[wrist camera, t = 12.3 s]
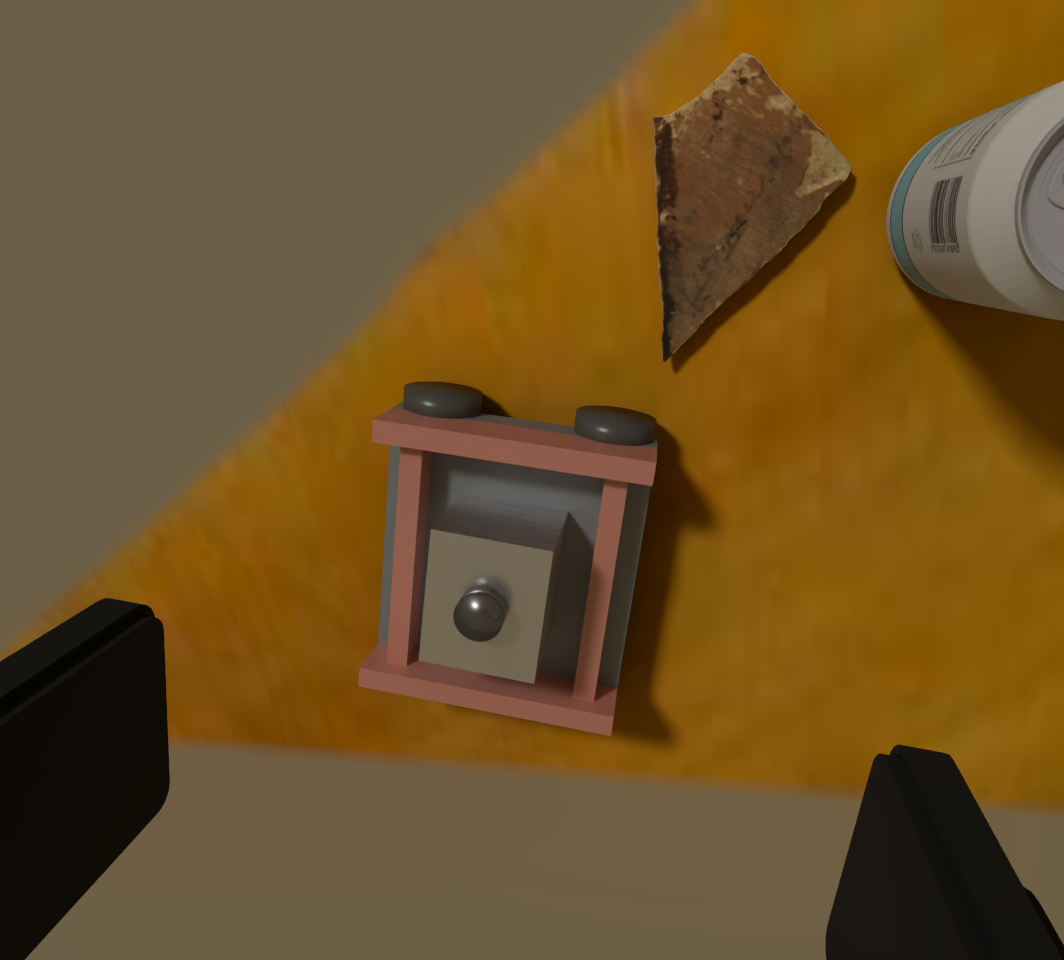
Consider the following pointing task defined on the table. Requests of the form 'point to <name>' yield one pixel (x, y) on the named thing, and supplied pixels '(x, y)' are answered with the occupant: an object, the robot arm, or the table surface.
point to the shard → (732, 190)
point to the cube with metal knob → (492, 586)
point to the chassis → (527, 477)
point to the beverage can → (988, 209)
